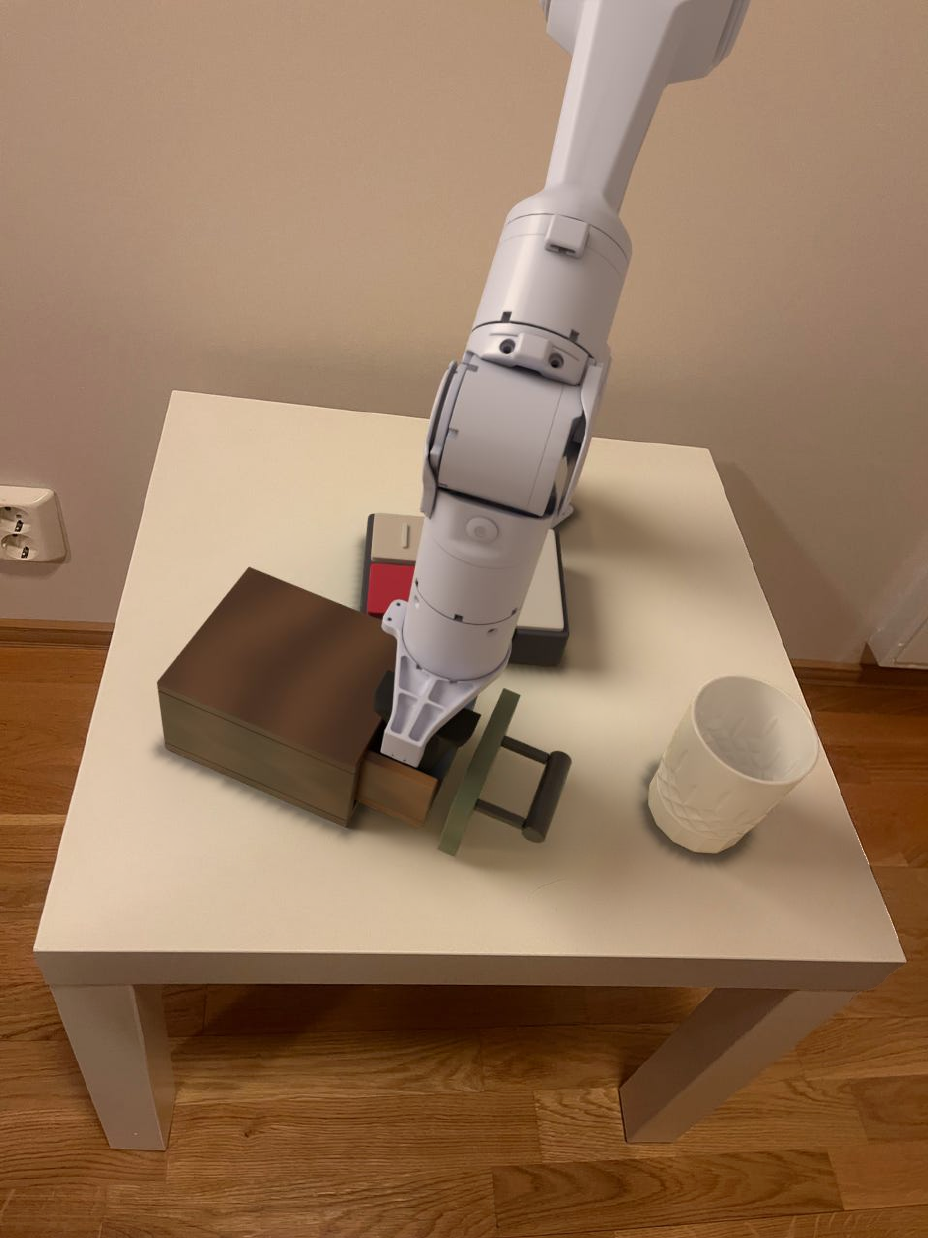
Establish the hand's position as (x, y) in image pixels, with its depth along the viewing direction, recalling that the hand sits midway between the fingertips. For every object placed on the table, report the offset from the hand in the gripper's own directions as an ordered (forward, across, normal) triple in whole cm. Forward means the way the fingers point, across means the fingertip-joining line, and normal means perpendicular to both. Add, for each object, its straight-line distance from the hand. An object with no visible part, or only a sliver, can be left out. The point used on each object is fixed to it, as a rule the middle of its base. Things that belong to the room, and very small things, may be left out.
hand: (430, 732), depth 55 cm
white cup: (+6, -6, +18) cm, 20 cm away
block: (+1, 0, 0) cm, 1 cm away
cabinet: (+5, 0, -9) cm, 10 cm away
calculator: (+6, -16, -3) cm, 17 cm away
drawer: (+5, 0, +1) cm, 5 cm away
